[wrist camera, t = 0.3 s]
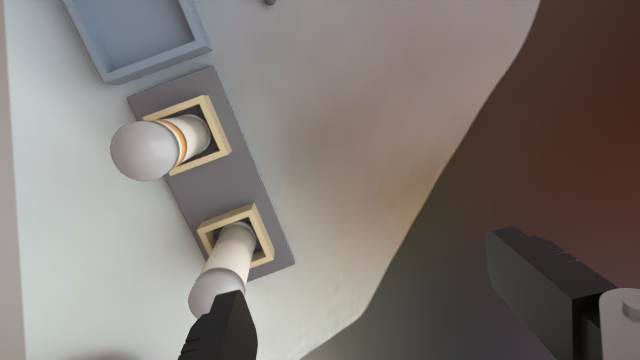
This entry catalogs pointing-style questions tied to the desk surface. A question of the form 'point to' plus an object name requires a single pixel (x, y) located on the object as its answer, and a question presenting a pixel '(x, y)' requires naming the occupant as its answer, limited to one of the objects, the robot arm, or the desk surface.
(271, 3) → the walkie-talkie
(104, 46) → the tray
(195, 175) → the fuse block
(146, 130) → the cylinder
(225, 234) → the cylinder
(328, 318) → the desk surface
